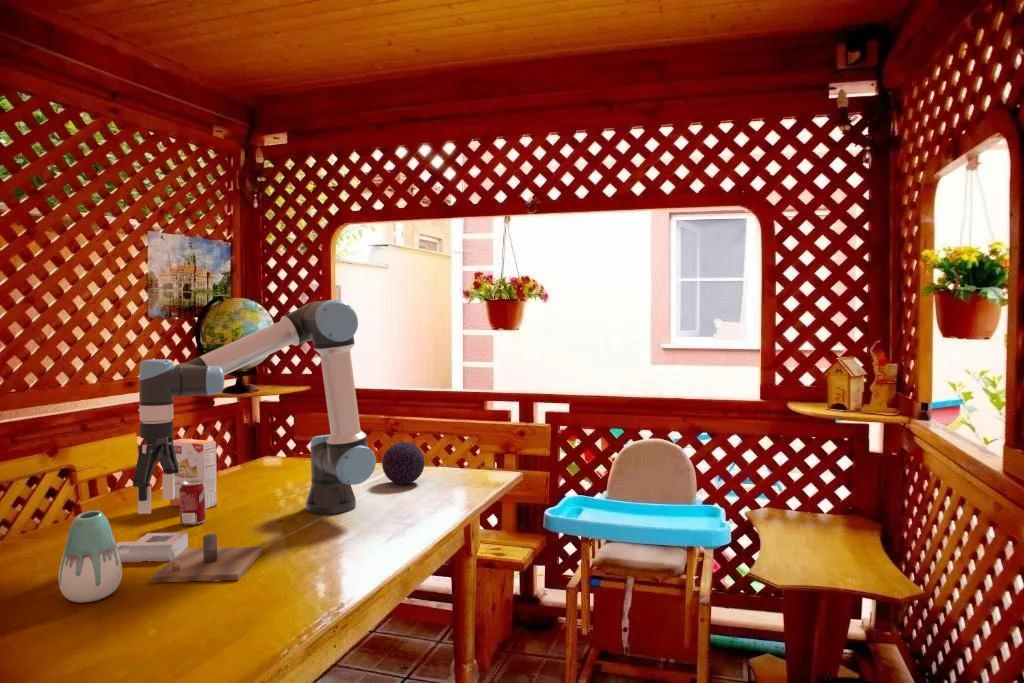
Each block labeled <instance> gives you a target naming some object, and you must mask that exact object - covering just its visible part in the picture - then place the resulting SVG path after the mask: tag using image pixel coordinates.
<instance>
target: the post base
mask: <svg viewBox="0 0 1024 683" xmlns="http://www.w3.org/2000/svg"><path fill="white" fill-rule="evenodd" d="M202 545H203V546H202V548H201V547H197V548H196V547H195V548H194V547H193V548H187V549H184V550H183V551H182V552H181V553H179V554H178V555H177V556H176V557H175V558H173V559H172V560H171V561H168V562H167V563H166V564H165V565H164V566H163V567H161V568H160V569H159V570H158V571H156V573H154V574H153V575H152V576H150V577H151V579H150V580H151V584H157V583H156V582H182V583H189V582H188V581H214V582H216V581H215V580H222V581H221V582H224V581H223V580H239V579H240V578H242V577H243V576H244V575H245V574H246V573H247V572H248V571H249V569H250V568H251V567H252V566H253V565H254V563H255V562H256V561H257V560H258V559H259V558H260V556H261V555H262V554H263V553H262V552H263V551H264V549H263V548H264V547H263V546H240V547H239V546H238V547H237V546H236V547H234V546H233V547H231V546H230V547H228V546H227V547H218V535H217V534H216V533H209V534H205V535H203V536H202ZM261 553H262V554H261ZM260 554H261V555H260ZM257 558H258V559H257ZM256 559H257V560H256ZM255 560H256V561H255ZM254 561H255V562H254ZM253 562H254V563H253ZM251 565H252V566H251ZM250 566H251V567H250ZM249 567H250V568H249ZM248 568H249V569H248ZM245 572H246V573H245ZM244 573H245V574H244ZM243 574H244V575H243ZM242 575H243V576H242ZM240 580H241V579H240ZM240 580H239V581H240Z"/></svg>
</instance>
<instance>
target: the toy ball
mask: <svg viewBox="0 0 1024 683" xmlns="http://www.w3.org/2000/svg"><path fill="white" fill-rule="evenodd" d="M425 463H426V462H425V456H424V453H423V452H422V450H421V449H420V447H418V446H417V445H415V444H414V443H411V442H410V441H409V442H408V441H400V442H395V443H393V444H392V445H391V446H389V447H388V449H386V451H385V452H384V454H383V457H382V460H381V466H382V470H383V473H384V475H385V476H386V478H388V480H389V481H390V482H392V483H395V484H397V485H408V484H411V483H413V482H416V480H418V478H420V477H421V475H422V474H423V471H424V469H425Z"/></svg>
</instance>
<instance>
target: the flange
mask: <svg viewBox="0 0 1024 683" xmlns="http://www.w3.org/2000/svg"><path fill="white" fill-rule="evenodd" d="M188 535H189V534H188V532H187V531H186V532H185V531H183V532H182V531H181V532H148V533H146V534H145V535H143V536H141V537H140V538H139V539H137V540H135V541H118V542H117V543H116V545H117V547H118V551H119V555H120V558H121V563H143V562H142V561H149V562H151V561H156V562H170V561H171V560H172V559H173V558H175V557H176V556H177V555H178V554H179V553H181V552H182V551H183V550H184V549H186V548H187V547H188V548H189V539H188V538H189V536H188ZM188 548H187V549H188Z"/></svg>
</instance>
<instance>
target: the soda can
mask: <svg viewBox="0 0 1024 683" xmlns="http://www.w3.org/2000/svg"><path fill="white" fill-rule="evenodd" d="M202 483H203V481H201V480H190V481H185V482H182V486H181V488H180V489H179V494H180V507H179V523H180V524H181V525H183V524H184V526H186V525H193V526H197V525H196V524H198V525H200V523H201V524H203V523H204V522H205V521H206V519H207V514H206V510H207V509H206V508H205V486H204V485H203V484H202Z"/></svg>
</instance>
